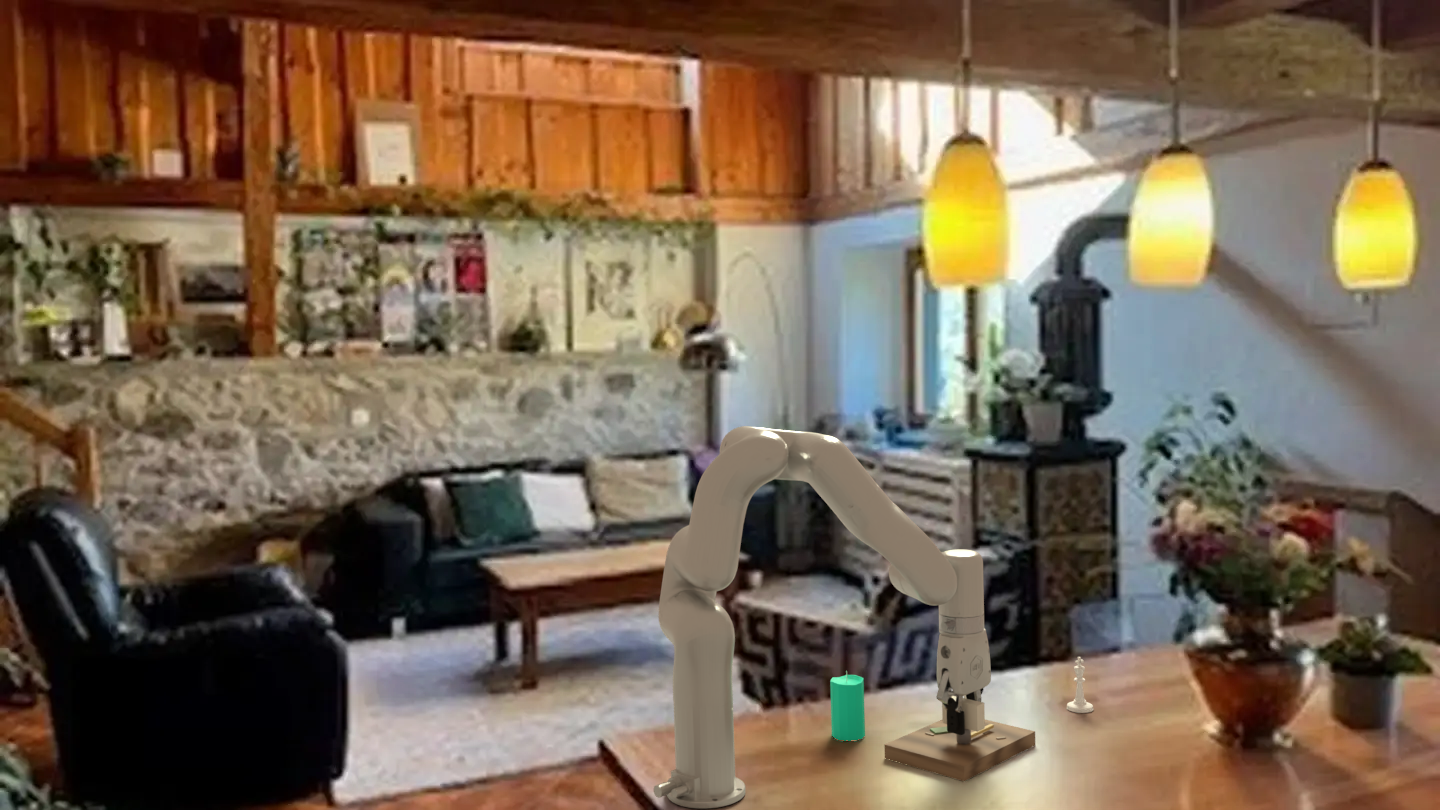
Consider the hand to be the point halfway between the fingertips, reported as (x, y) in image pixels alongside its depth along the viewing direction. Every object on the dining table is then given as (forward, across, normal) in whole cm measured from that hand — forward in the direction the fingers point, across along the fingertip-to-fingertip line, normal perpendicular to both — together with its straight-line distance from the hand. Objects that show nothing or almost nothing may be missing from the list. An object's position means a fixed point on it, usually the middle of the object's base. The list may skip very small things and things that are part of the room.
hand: (963, 728), depth 207 cm
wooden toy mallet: (+2, +4, 0) cm, 4 cm away
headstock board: (+5, +2, +2) cm, 6 cm away
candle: (+5, -4, +22) cm, 23 cm away
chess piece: (+5, +36, -2) cm, 36 cm away
